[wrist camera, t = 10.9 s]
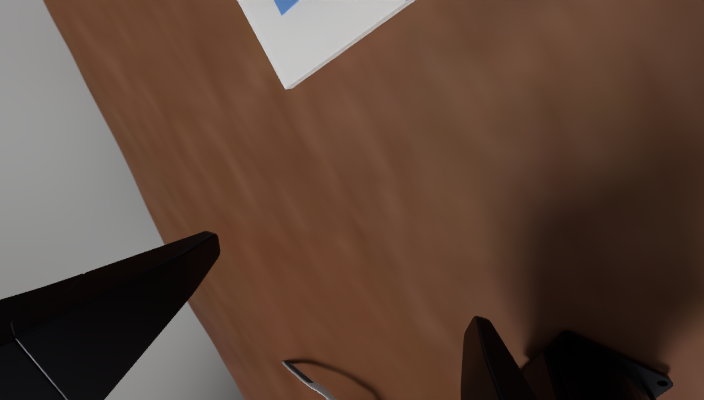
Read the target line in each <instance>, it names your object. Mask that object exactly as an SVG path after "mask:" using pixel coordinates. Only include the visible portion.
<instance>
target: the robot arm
mask: <svg viewBox="0 0 704 400" xmlns="http://www.w3.org/2000/svg"><path fill="white" fill-rule="evenodd" d="M219 255H220V246H219V239H218V236H217V234H215V233H212V232H209V231H204V232H201V233H198V234H195V235H192V236H190V237H187V238H184V239H181V240H178V241H175V242H172V243H169V244H167V245H164V246H161V247H158V248H155V249H152V250H149V251H146V252H144V253H141V254H138V255H135V256H132V257H129V258H126V259H123V260H120V261H117V262H115V263H112V264H109V265H106V266H103V267H100V268H98V269H95V270H91V271H89V272H86V273H85V274H80V275H77V276H74V277H71V278H68V279H65V280H62V281H59V282H56V283H53V284H50V285H47V286H44V287H41V288H38V289H35V290H31V291H28V292H25V293H21V294H18V295H15V296H11V297H8V298H4V299H1V300H0V400H104V399H105V398H106V397H107V396H108V395H109V393H110V392H111V391H112V390H113V389H114V388H115V386H116V385H117V384H118V383H119V382H120V380H121V379H122V378H123V377H124V376H125V374H126V373H127V372H128V371H129V370H130V368H131V367H132V366H133V365H134V364H135V362H136V361H137V360H138V359H139V358H140V357H141V355H142V354H143V353H144V352H145V351H146V349H147V348H148V347H149V346H150V345H151V343H152V342H153V341H154V340H155V338H156V337H157V336H158V335H159V334H160V333H161V332H162V330H163V329H164V328H165V327H166V326H167V324H168V323H169V322H170V321H171V319H172V318H173V317H174V316H175V315H176V314H177V312H178V311H179V310H180V309H181V308H182V307H183V305H184V304H185V303H186V302H187V301H188V299H189V298H190V297H191V296H192V294H193V293H194V292H195V290H196V289H197V288H198V286H199V285H200V283H201V282H202V281H203V279H204V278H205V276H206V275H207V273H208V272H209V270H210V269H211V267H212V266H213V264H214V263H215V262H216V260H217V259H218V257H219ZM567 339H571V340H567ZM672 386H673V382H672V381H671V379H670V378H669V376H668V375H667V374H665V373H663V372H661V371H658V370H656V369H654V368H652V367H649V366H647V365H645V364H643V363H640V362H638V361H636V360H634V359H632V358H629V357H627V356H625V355H623V354H620V353H618V352H616V351H614V350H611V349H609V348H607V347H605V346H602V345H600V344H598V343H596V342H593V341H591V340H589V339H587V338H585V337H582V336H580V335H578V334H576V333H573V332H570V331H564V332H562V333H560V334H559V335H558V336H557V337H556V339H555V340H554V341H553V342H552V343H551V344H550V345H549V346H548V347H547V348H546V349H545V350H544V351H542V352H541V353H540V354H539V355H538V356H537V357H536V358H535V359H534V360H533V361H532V362H531V363H530V364H529V365H528V366H527V367H526V369H525V370H524V372H523V373H522V372H521V370H520V368H519V367H518V365H517V364H516V362H515V360H514V359H513V357H512V355H511V354H510V352H509V351H508V349H507V347H506V346H505V344H504V342H503V341H502V339H501V338H500V336H499V334H498V333H497V331H496V330H495V328H494V326H493V325H492V323H491V322H490V321H489V320H488V319H486V318H483V317H479V316H474V317H473V319H472V321H471V322H470V324H469V326H468V328H467V329H466V331H465V335H464V343H463V359H462V374H461V400H656V398H657V397H658V396H660V395H661V394H663V393H664V392H666V391H667V390H669V389H670V388H671V387H672Z"/></svg>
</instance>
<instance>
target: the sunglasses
mask: <svg viewBox="0 0 704 400" xmlns="http://www.w3.org/2000/svg"><path fill="white" fill-rule="evenodd" d="M282 363H283V364H284V365H285V366H286V367H287V368H288V369H289V370H290V371H291V372H292V373H293V374H295V375H296V376H297V377H298V378H299V379H300V380H302V381H303V382H304V383H305V384H306V385H308V386H309V387H310V388H312V389H314V390H316V391H317V392H319V393H320V394H322V395H323V396H324V397H325V398H326V399H328V400H337V399H336V398H335V397H334V396H333V395H332V394H331V393H330V392H329V391H328V390H327V389H326V388H325V387H324V386H322V385H320V384H318V383H317V382H315V381H313V380H312V379H311V378H309V377H308V376H307V375H305V374H304V373H303V372H301V371H300V370H299V369H298V368H297V367H295V366H294V365H293V364H292V363H289V362H284V361H282Z"/></svg>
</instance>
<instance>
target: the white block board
mask: <svg viewBox="0 0 704 400" xmlns="http://www.w3.org/2000/svg"><path fill="white" fill-rule="evenodd" d="M237 1H238V2H239V4H240V6H241V8H242V10H243V12H244V14H245V15H246V17H247V19H248V21H249V23H250V25H251V27H252V28H253V30H254V32H255V34H256V36H257V38H258V40H259V42H260V43H261V45H262V47H263V49H264V51H265V53H266V55H267V56H268V58H269V60H270V62H271V64H272V66H273V68H274V69H275V71H276V73H277V75H278V77H279V79H280V81H281V82H282V84H283V86H284V88H285V89H292V88H293V87H295V86H296V85H298V84H299V83H300V82H302V81H303V80H305V79H306V78H307V77H309V76H310V75H312V74H313V73H314V72H316V71H317V70H319V69H320V68H321V67H323V66H324V65H326V64H327V63H328V62H330V61H331V60H333V59H334V58H335V57H337V56H338V55H339V54H341V53H342V52H344V51H345V50H346V49H348V48H349V47H351V46H352V45H353V44H355V43H356V42H358V41H359V40H360V39H362V38H363V37H365V36H366V35H367V34H369V33H370V32H372V31H373V30H374V29H376V28H377V27H379V26H380V25H381V24H383V23H384V22H386V21H387V20H388V19H390V18H391V17H393V16H394V15H395V14H397V13H398V12H400V11H401V10H402V9H404V8H405V7H407V6H408V5H409V4H411V3H412V2H414V1H415V0H237Z"/></svg>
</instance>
